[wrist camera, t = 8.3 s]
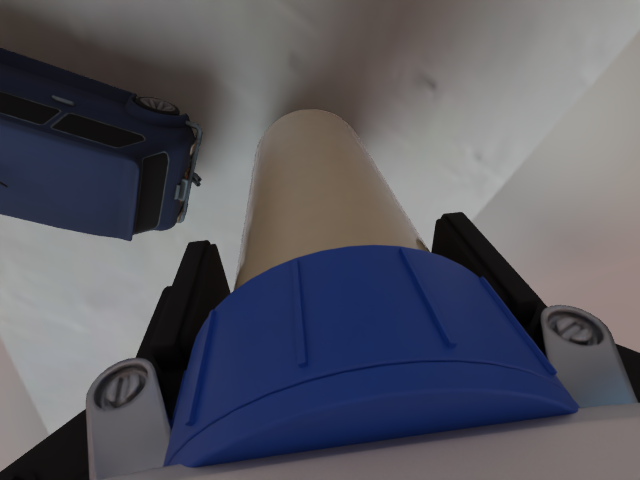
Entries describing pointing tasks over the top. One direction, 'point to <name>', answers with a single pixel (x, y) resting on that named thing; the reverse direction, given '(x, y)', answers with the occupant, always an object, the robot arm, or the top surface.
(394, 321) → the lid
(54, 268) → the top surface
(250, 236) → the jar
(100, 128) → the blue toy van
